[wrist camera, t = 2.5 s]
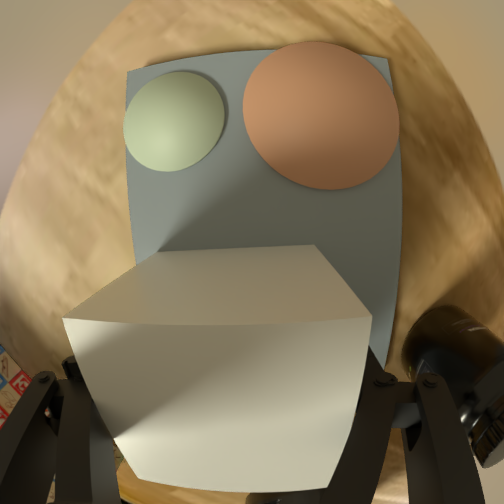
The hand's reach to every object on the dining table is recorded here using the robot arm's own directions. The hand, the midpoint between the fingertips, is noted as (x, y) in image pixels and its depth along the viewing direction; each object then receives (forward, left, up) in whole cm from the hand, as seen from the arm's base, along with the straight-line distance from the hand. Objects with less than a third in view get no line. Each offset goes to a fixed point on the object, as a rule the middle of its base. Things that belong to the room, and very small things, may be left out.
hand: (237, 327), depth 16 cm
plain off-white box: (0, 0, -1) cm, 1 cm away
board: (+5, -2, -2) cm, 6 cm away
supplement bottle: (-4, -15, -2) cm, 16 cm away
